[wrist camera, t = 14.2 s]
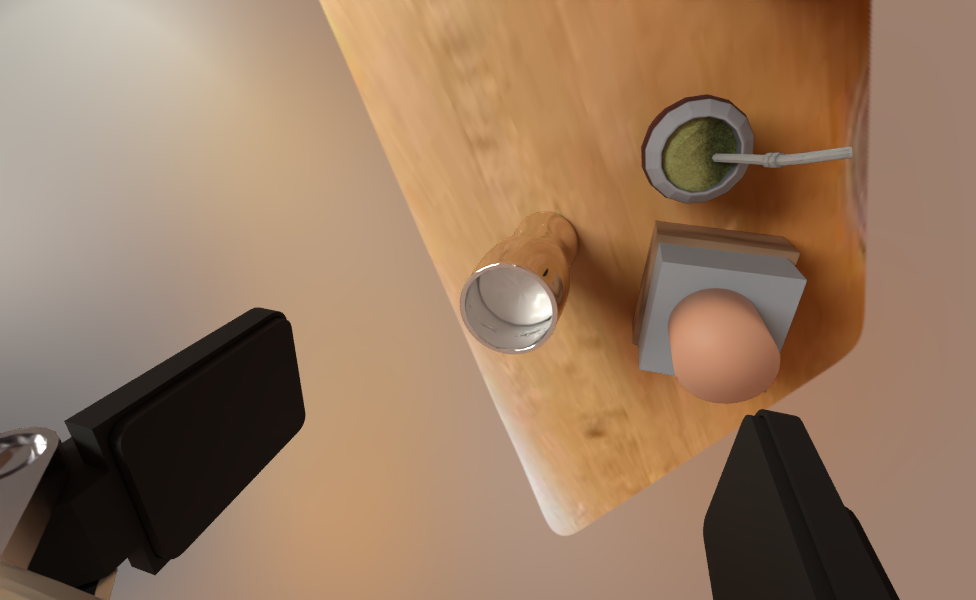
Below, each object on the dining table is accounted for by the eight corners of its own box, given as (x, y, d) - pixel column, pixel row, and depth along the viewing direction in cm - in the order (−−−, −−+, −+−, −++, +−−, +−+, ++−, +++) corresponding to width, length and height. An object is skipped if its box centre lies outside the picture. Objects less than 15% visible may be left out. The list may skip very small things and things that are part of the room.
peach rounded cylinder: (678, 281, 32) (685, 312, 28) (772, 295, 31) (795, 330, 26) (659, 354, 35) (663, 392, 30) (745, 369, 33) (762, 412, 29)
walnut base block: (655, 219, 40) (657, 234, 36) (782, 235, 37) (800, 253, 33) (632, 321, 44) (632, 344, 40) (745, 341, 42) (757, 367, 38)
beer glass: (598, 251, 42) (583, 325, 29) (538, 290, 45) (500, 373, 32) (551, 190, 41) (514, 238, 28) (494, 235, 44) (436, 297, 31)
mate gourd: (621, 151, 38) (617, 183, 25) (697, 64, 34) (739, 47, 21) (689, 208, 38) (720, 270, 25) (772, 129, 34) (859, 152, 21)
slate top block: (659, 242, 36) (662, 261, 32) (786, 257, 34) (807, 280, 30) (638, 341, 40) (639, 369, 36) (751, 360, 38) (765, 392, 34)
